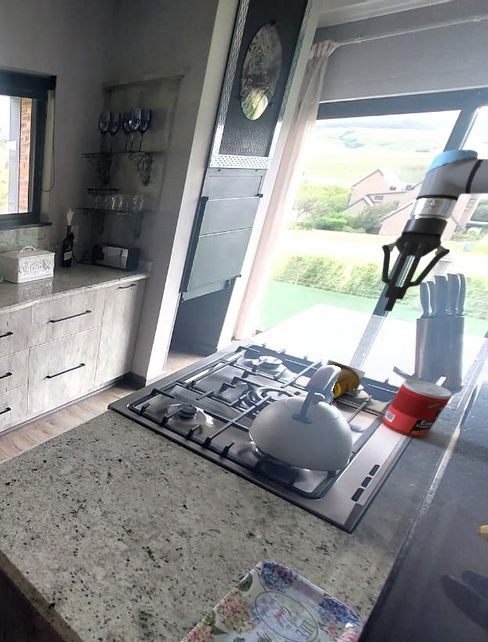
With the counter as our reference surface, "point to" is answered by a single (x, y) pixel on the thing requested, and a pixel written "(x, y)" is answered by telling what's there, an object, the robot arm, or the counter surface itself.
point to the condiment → (347, 379)
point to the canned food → (416, 407)
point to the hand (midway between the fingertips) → (387, 310)
